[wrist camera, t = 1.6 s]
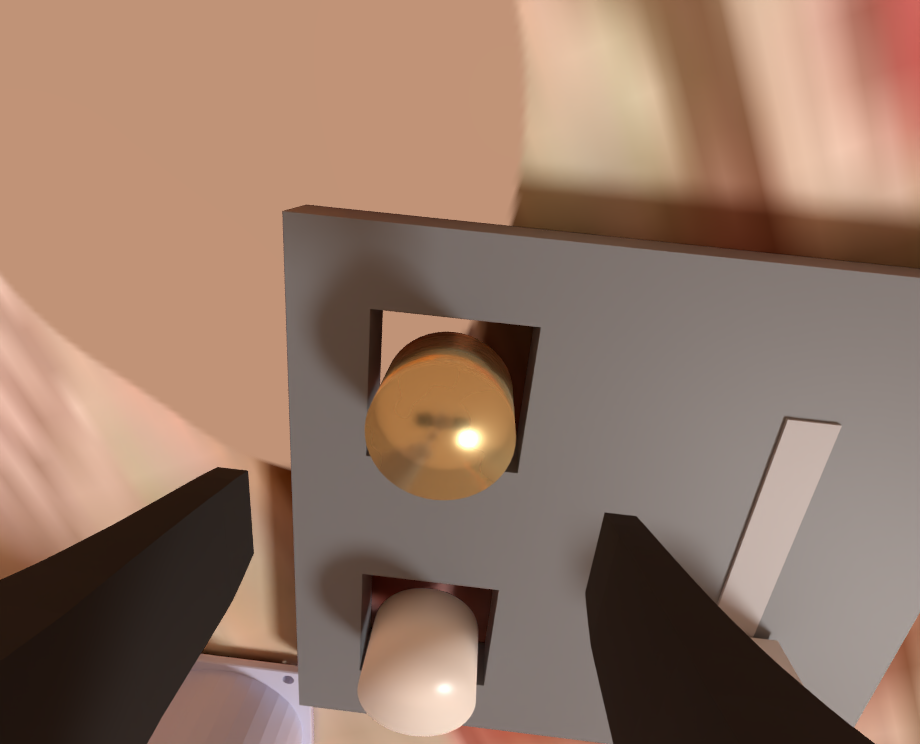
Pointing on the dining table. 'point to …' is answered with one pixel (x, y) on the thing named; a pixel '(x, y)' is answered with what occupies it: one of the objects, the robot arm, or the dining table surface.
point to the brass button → (443, 418)
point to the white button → (421, 663)
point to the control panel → (612, 450)
